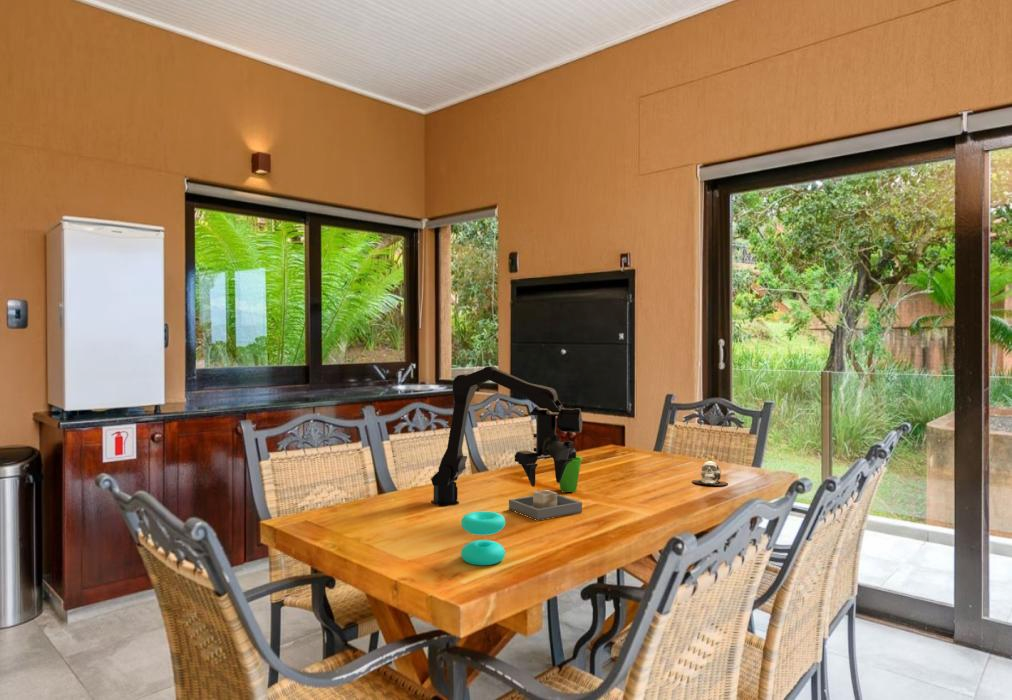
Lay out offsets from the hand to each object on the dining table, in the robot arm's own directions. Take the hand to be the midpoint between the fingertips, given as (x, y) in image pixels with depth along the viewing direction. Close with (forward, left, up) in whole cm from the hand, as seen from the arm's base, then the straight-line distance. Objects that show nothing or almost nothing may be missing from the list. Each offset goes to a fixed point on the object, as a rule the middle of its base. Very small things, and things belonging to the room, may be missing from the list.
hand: (545, 484), depth 187 cm
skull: (+72, -1, -8) cm, 72 cm away
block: (0, 0, -7) cm, 7 cm away
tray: (0, 0, -8) cm, 8 cm away
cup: (+22, +16, -8) cm, 28 cm away
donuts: (-37, -25, -8) cm, 45 cm away
